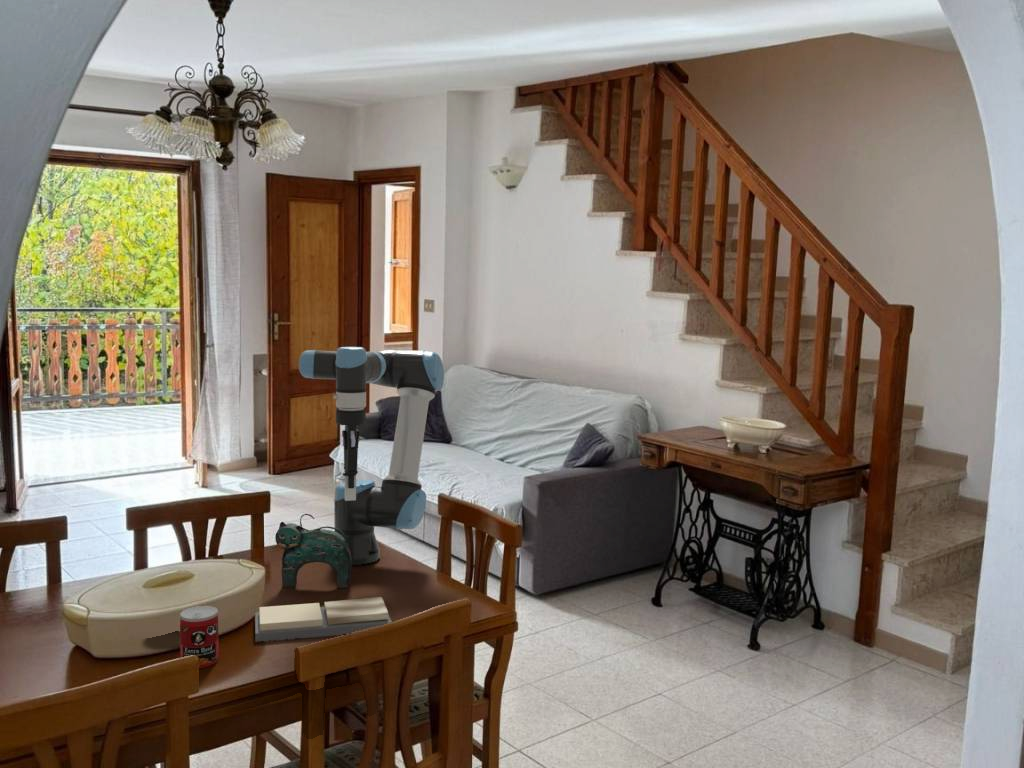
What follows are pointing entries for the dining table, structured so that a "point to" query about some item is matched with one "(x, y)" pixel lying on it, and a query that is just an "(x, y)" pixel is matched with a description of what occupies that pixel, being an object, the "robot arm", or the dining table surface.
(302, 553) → the ceramic cat
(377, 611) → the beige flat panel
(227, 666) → the dining table surface
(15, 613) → the dining table surface
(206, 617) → the canned food
